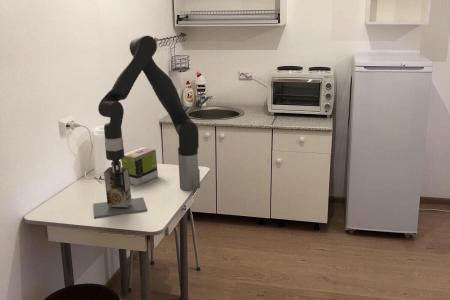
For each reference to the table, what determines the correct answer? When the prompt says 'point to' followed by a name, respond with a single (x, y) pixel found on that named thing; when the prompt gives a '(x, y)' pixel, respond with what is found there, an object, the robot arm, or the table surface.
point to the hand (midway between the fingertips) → (117, 183)
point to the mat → (119, 208)
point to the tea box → (140, 165)
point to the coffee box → (118, 188)
